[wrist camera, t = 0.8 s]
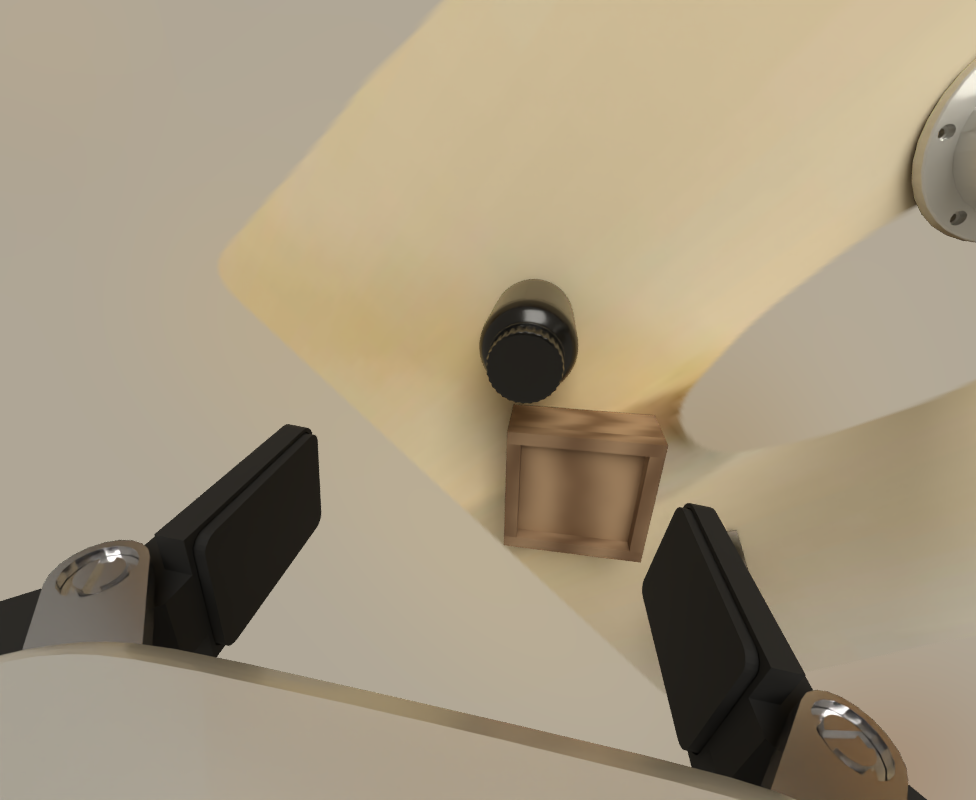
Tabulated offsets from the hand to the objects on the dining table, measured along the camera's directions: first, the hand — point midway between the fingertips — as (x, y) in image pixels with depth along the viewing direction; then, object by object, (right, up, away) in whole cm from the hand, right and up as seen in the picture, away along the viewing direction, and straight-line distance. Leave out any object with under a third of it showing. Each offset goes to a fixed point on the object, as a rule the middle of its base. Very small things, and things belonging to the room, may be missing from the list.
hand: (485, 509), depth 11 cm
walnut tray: (+9, -4, +31) cm, 32 cm away
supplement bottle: (+4, +10, +25) cm, 27 cm away
